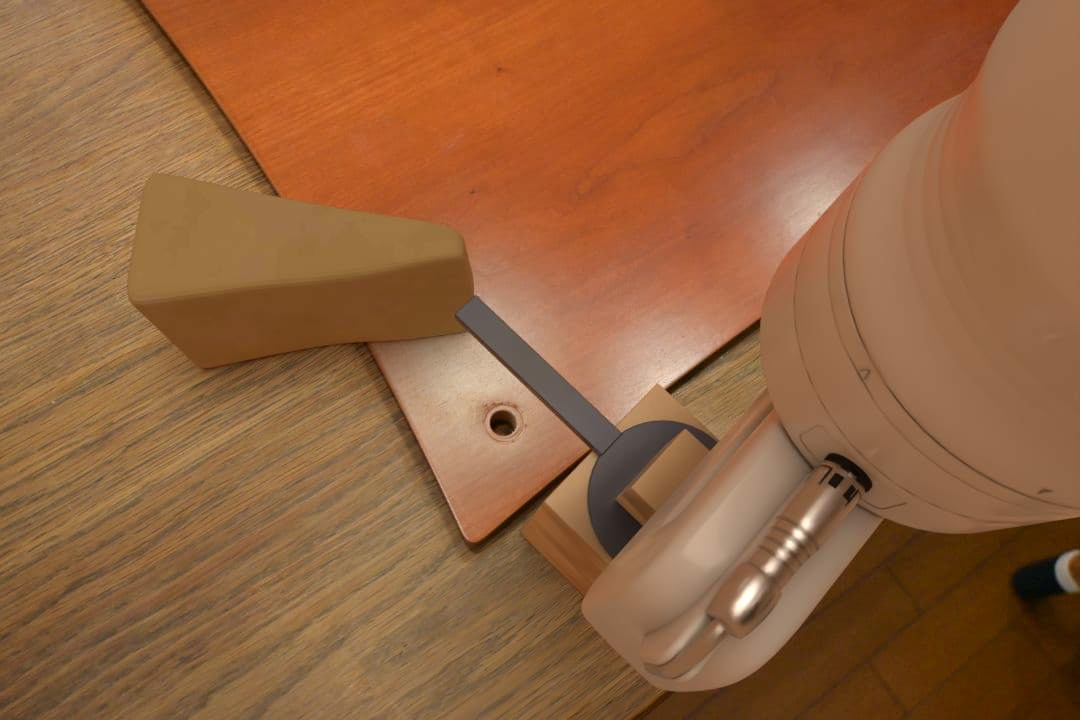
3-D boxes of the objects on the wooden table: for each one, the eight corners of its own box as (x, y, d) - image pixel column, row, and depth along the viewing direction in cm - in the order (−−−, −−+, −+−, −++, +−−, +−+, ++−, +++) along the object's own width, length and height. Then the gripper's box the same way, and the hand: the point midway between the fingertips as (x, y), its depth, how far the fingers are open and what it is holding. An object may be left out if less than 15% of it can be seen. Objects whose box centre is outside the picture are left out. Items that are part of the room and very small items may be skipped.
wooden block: (722, 498, 44) (749, 486, 40) (672, 555, 43) (695, 549, 39) (664, 444, 45) (685, 427, 41) (614, 499, 44) (630, 487, 40)
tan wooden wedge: (474, 270, 68) (477, 178, 53) (471, 377, 65) (474, 311, 50) (209, 260, 66) (140, 162, 51) (194, 371, 62) (116, 300, 48)
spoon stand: (696, 530, 62) (790, 497, 45) (613, 626, 60) (679, 631, 42) (506, 349, 66) (523, 251, 48) (418, 432, 63) (402, 360, 45)
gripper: (807, 805, 15) (644, 715, 28) (1258, 169, 21) (949, 340, 34) (569, 569, 16) (518, 588, 29) (1065, 24, 22) (837, 245, 35)
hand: (753, 451), depth 32 cm, fingers open, 8 cm apart
